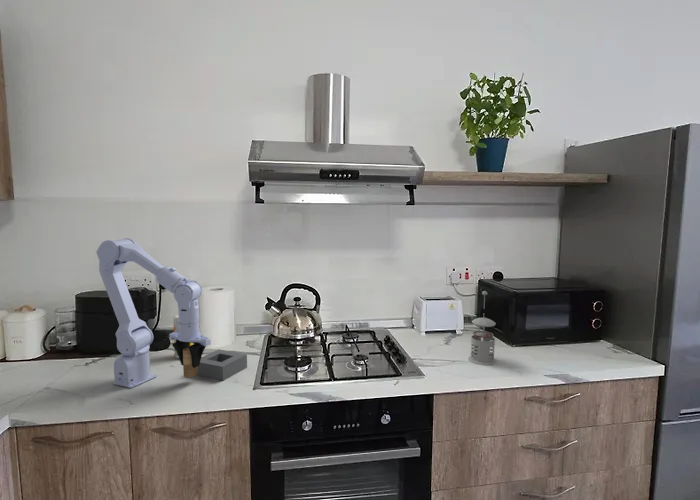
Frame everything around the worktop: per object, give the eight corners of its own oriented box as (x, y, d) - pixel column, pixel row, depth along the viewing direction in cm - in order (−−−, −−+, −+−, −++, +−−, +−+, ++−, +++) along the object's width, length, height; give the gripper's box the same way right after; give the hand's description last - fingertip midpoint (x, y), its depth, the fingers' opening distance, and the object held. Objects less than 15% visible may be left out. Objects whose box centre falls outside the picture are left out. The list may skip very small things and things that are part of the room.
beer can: (196, 354, 151) (194, 314, 149) (188, 360, 145) (186, 318, 143) (180, 353, 151) (178, 313, 150) (171, 359, 145) (169, 318, 144)
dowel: (190, 378, 123) (189, 352, 122) (180, 375, 124) (179, 350, 124) (200, 373, 127) (199, 348, 126) (190, 371, 128) (189, 346, 127)
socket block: (223, 380, 127) (222, 366, 127) (193, 374, 132) (192, 361, 131) (247, 367, 138) (246, 354, 138) (218, 361, 143) (218, 349, 142)
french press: (468, 363, 142) (470, 292, 140) (467, 352, 153) (469, 286, 151) (498, 366, 140) (501, 294, 137) (494, 354, 151) (497, 288, 149)
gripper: (217, 321, 125) (218, 364, 126) (181, 316, 130) (182, 357, 132) (200, 327, 118) (201, 372, 120) (163, 321, 124) (164, 365, 125)
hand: (190, 365), depth 125 cm, fingers closed on dowel, 4 cm apart
